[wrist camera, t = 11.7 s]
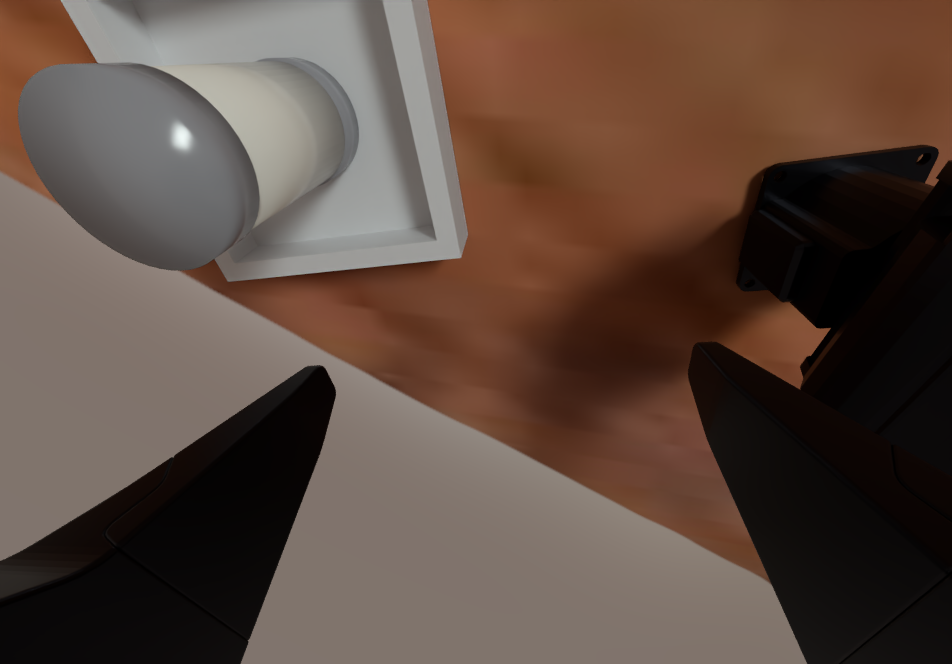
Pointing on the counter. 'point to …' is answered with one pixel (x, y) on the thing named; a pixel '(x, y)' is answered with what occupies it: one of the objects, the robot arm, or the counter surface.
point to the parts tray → (373, 98)
